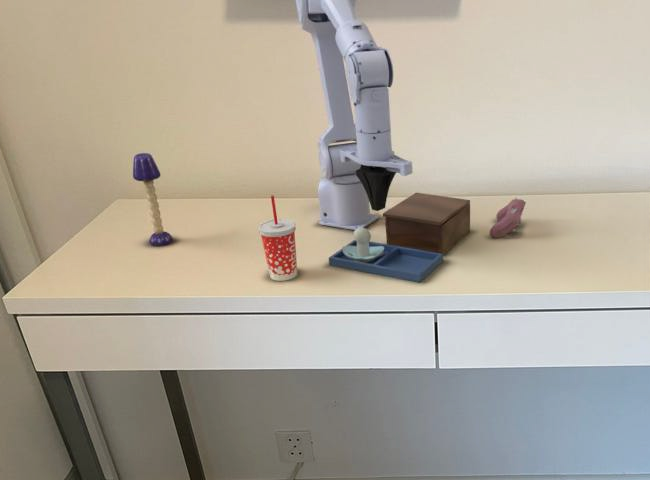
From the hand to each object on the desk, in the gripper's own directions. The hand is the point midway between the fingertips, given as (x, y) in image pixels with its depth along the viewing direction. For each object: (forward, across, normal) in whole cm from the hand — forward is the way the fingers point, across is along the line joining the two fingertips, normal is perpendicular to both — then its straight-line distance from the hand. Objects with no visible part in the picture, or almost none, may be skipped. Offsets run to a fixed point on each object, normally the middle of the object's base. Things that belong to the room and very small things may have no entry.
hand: (378, 208), depth 130 cm
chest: (+9, -2, -11) cm, 14 cm away
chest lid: (+3, -2, -11) cm, 11 cm away
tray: (+9, -3, +2) cm, 10 cm away
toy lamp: (+9, +38, +19) cm, 44 cm away
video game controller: (+9, -12, -24) cm, 28 cm away
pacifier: (+9, +1, +3) cm, 9 cm away
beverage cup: (+9, +8, +16) cm, 20 cm away
